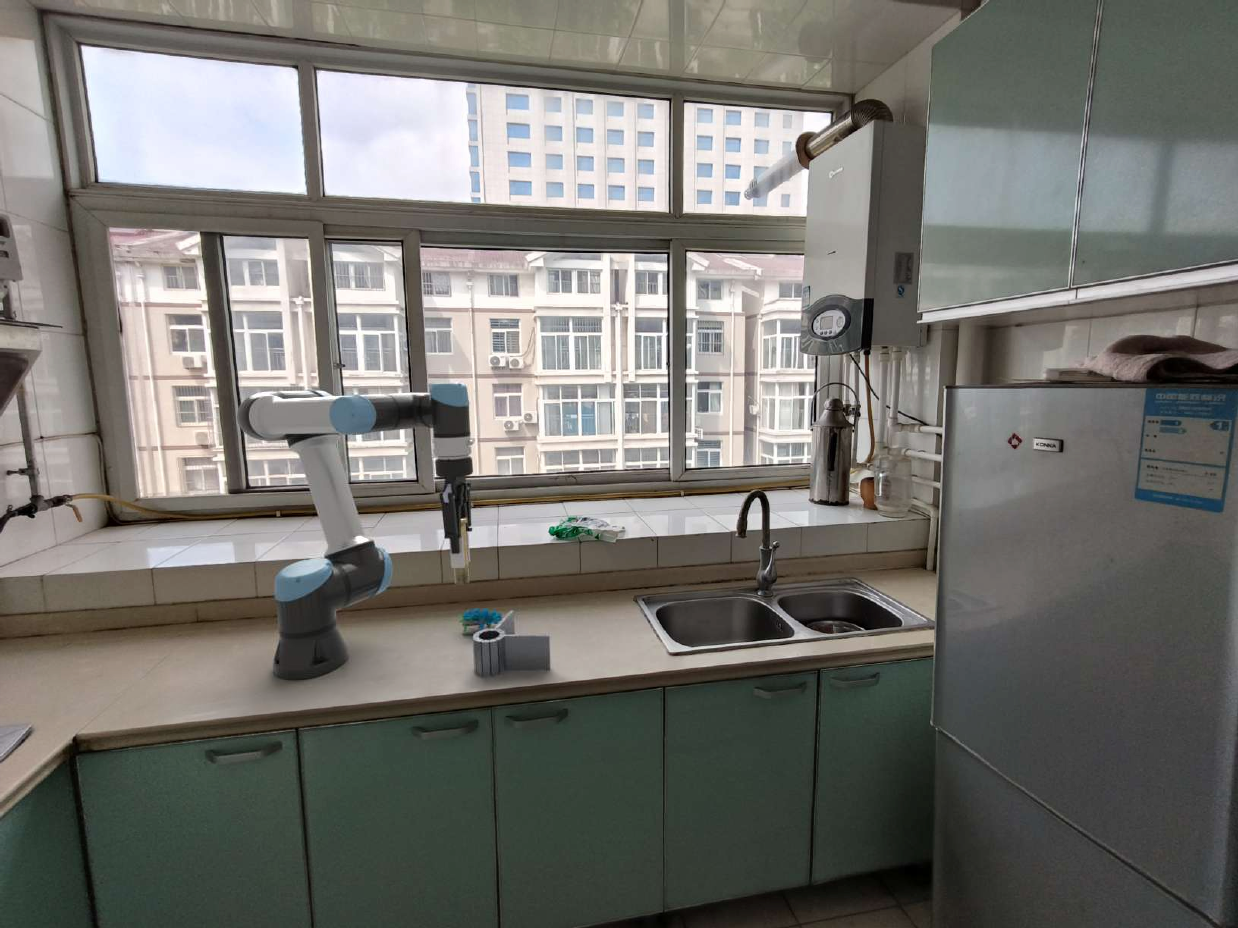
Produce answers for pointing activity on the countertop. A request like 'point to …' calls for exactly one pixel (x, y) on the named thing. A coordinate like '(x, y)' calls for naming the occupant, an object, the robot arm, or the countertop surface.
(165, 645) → the countertop surface
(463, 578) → the pin
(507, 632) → the hinge leaf swing
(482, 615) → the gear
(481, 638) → the hinge leaf fixed
